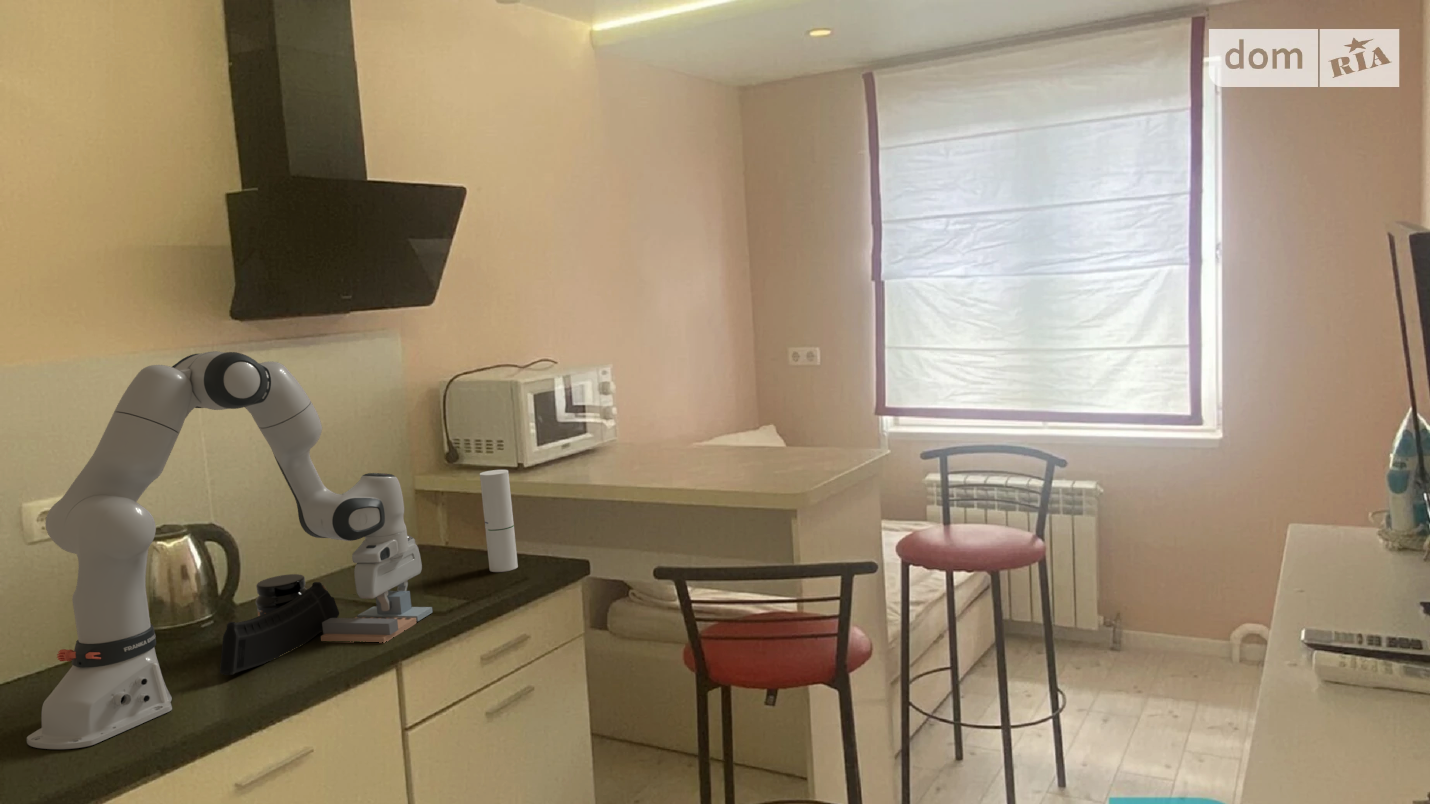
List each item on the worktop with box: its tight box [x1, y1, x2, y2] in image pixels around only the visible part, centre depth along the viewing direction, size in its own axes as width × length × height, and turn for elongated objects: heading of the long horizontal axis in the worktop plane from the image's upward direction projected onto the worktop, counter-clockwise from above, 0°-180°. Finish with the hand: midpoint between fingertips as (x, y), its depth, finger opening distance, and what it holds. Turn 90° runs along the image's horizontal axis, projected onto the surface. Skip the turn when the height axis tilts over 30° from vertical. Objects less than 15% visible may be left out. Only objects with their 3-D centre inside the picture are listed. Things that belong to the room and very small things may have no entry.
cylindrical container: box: [479, 469, 519, 573], centre depth 252 cm, size 7×7×25 cm
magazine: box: [219, 581, 340, 676], centre depth 200 cm, size 17×3×30 cm
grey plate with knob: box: [356, 590, 433, 622], centre depth 219 cm, size 6×15×5 cm, turn 75°
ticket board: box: [320, 616, 417, 644], centre depth 209 cm, size 12×16×4 cm
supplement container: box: [255, 573, 308, 617], centre depth 212 cm, size 10×10×12 cm
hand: (394, 605), depth 219 cm, fingers closed on grey plate with knob, 4 cm apart
